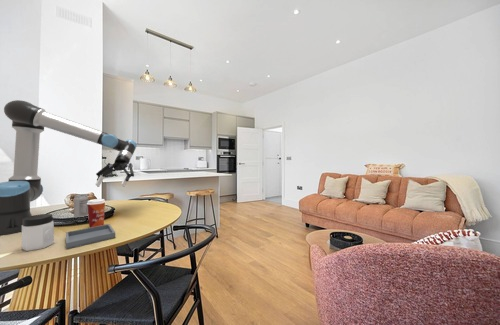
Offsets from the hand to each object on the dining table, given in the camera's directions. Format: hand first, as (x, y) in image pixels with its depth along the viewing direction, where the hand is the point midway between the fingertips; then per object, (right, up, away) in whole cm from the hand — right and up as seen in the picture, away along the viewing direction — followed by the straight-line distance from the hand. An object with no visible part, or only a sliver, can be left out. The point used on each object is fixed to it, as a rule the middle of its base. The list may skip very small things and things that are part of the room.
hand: (110, 185), depth 110 cm
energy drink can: (-14, -20, -2) cm, 25 cm away
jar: (-6, -21, -32) cm, 39 cm away
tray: (+8, -21, -24) cm, 32 cm away
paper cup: (+1, -20, -10) cm, 23 cm away
